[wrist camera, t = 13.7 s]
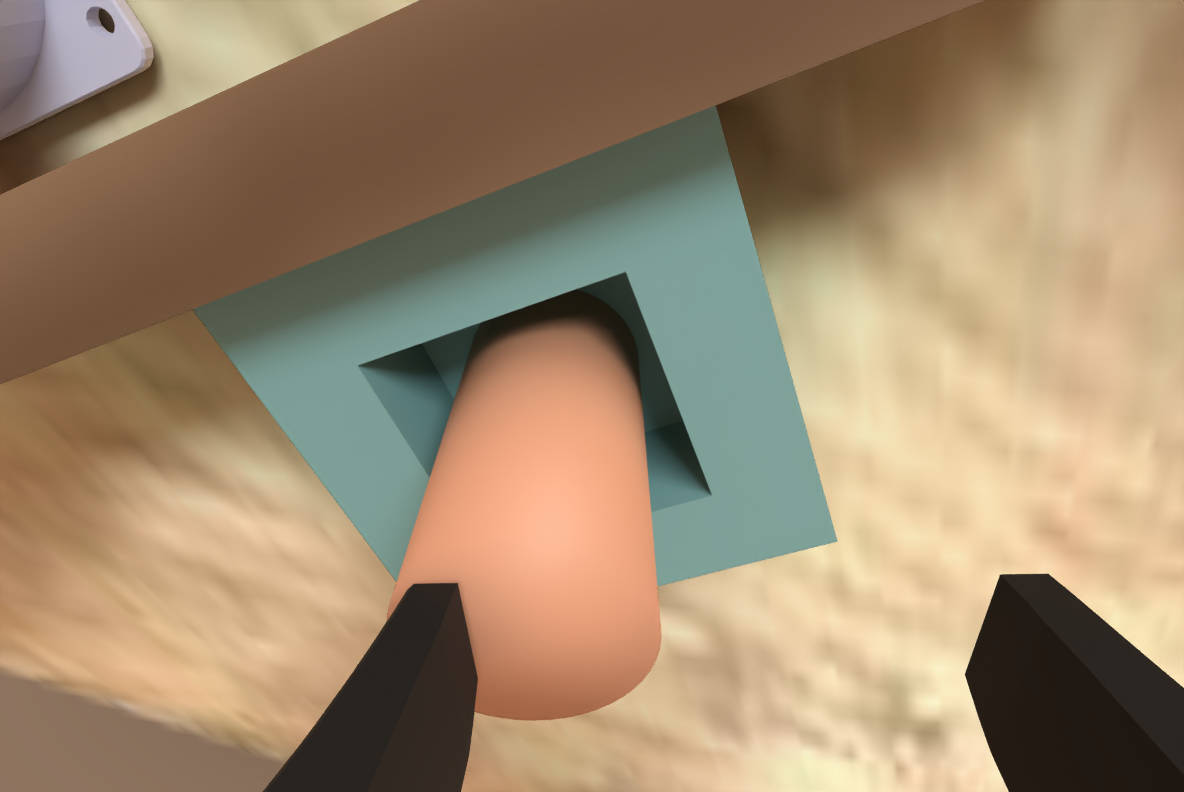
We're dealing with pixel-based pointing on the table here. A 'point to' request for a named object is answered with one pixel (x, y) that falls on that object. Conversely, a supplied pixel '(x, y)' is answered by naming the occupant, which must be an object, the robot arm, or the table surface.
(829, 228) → the table surface
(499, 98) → the backstop wall
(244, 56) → the table surface
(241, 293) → the sliding block
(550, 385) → the dowel
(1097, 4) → the table surface
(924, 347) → the table surface
